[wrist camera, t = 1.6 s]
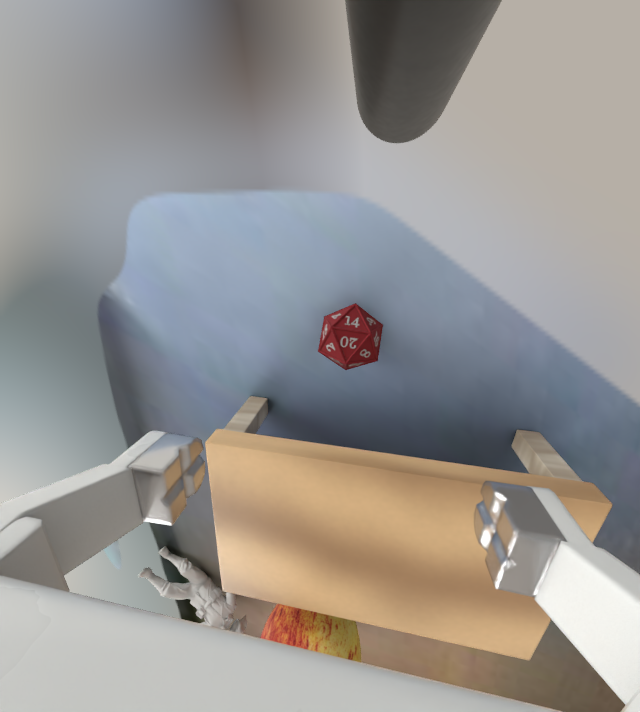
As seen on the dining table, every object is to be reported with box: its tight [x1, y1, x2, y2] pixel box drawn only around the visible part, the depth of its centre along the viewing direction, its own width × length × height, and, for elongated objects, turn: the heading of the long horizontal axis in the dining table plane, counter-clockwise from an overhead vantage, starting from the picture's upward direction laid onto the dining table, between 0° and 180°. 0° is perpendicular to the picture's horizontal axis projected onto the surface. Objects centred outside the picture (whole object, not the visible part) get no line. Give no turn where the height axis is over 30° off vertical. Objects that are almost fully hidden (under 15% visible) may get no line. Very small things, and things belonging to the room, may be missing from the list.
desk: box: [205, 396, 612, 660], centre depth 22 cm, size 14×22×6 cm, turn 88°
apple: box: [260, 604, 361, 662], centre depth 26 cm, size 9×9×10 cm
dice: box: [318, 303, 383, 370], centre depth 19 cm, size 4×4×4 cm
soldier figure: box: [138, 546, 247, 634], centre depth 32 cm, size 8×5×12 cm
